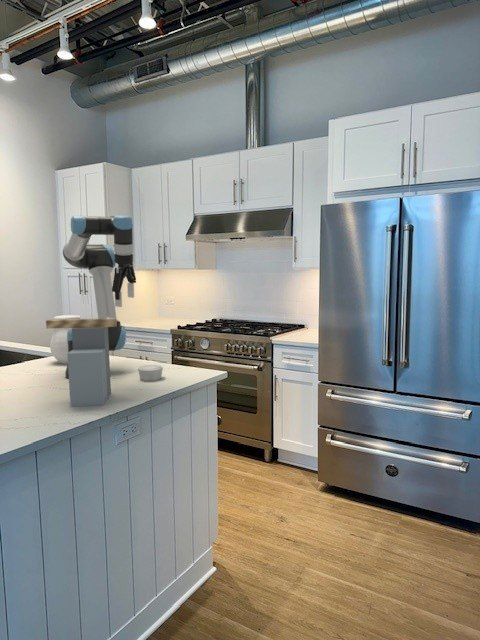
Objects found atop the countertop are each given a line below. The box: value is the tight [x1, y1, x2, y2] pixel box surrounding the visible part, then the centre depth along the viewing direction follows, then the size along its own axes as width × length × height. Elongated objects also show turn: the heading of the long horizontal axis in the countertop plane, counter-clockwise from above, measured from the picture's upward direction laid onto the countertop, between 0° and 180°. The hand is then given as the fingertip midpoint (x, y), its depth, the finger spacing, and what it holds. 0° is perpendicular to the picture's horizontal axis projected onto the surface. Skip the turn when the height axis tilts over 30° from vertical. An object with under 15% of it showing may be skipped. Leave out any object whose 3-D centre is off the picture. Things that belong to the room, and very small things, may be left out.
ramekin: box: [137, 364, 163, 382], centre depth 211 cm, size 11×11×5 cm
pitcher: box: [49, 314, 82, 365], centre depth 248 cm, size 19×18×25 cm
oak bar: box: [45, 317, 118, 329], centre depth 180 cm, size 26×3×3 cm, turn 96°
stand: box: [67, 327, 112, 407], centre depth 178 cm, size 12×16×28 cm
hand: (124, 301), depth 200 cm, fingers open, 13 cm apart
